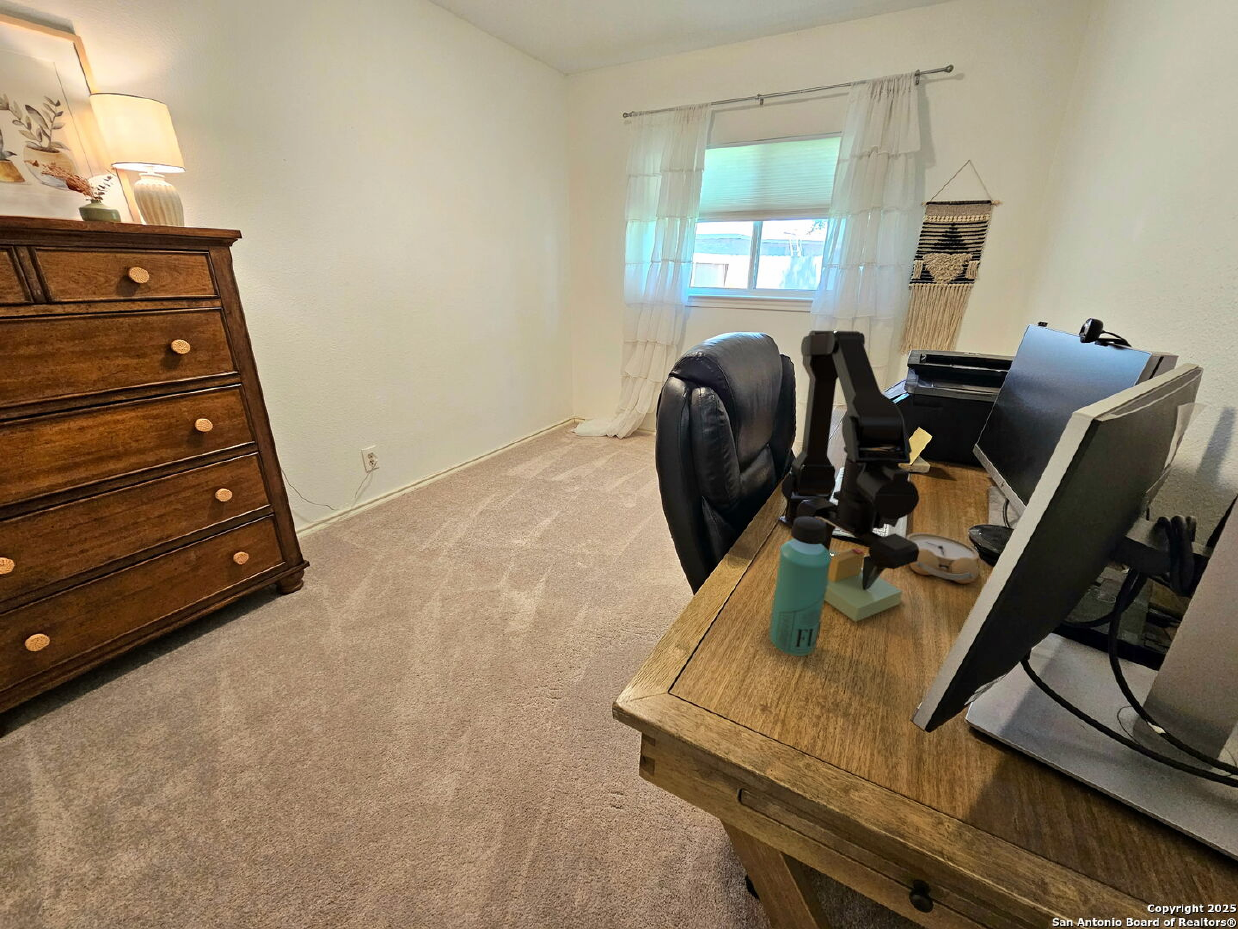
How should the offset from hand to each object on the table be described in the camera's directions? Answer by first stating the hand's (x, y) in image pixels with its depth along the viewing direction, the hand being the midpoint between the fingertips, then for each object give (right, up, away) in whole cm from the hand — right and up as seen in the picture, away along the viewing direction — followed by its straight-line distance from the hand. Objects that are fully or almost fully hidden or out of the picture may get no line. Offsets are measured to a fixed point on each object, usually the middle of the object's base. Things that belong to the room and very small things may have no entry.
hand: (843, 574), depth 80 cm
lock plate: (0, -3, +1) cm, 3 cm away
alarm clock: (+20, 0, +7) cm, 21 cm away
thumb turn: (0, 0, 0) cm, 0 cm away
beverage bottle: (-13, -8, -12) cm, 20 cm away
